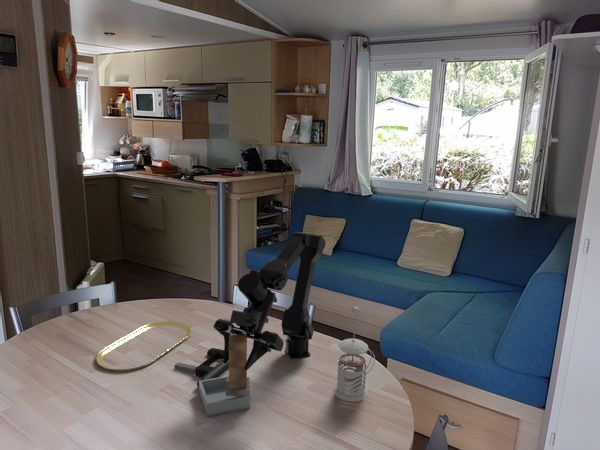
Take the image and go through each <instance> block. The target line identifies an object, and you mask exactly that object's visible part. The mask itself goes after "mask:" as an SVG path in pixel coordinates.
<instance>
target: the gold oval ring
mask: <svg viewBox="0 0 600 450" xmlns="http://www.w3.org/2000/svg"><path fill="white" fill-rule="evenodd" d="M159 327H175V328H180V329H182V330H183V331H185V334H186V335H185V337H184V338H183V339H181V340H180V341H179V342H177V343H175V344H174V345H173V346H172V347H170V348H168V349H166V351H164V352H162V353H161V354H159V356H158V355H157V357H155V358H154V359H152V360H151V361H149V362H147V363H145V364H142V365H139V366H135V367H130V368H111V367H107V366H105V364H104V363H103V359H104V358H105V356H106V355H107V354H109V353H111V352H112V351H114V350H115V349H117V348H119V347H120V346H122V345H123V344H126V343H127V342H129V341H130V340H132V339H134V338H135V337H138V336H139V335H141V334H143V333H144V332H146V331H148V330H151V329H155V328H159ZM191 333H192V331H191V327H190V326H189V325H187V324H185V323H183V322H180V321H171V320H167V321H165V320H164V321H156V322H152V323H147V324H145V325H143V326H141V327H139V328H137V329H136V330H134V331H131V332H130V333H129V334H126V335H125V336H124V337H121V338H119V339H118V340H115V342H113V343H111V344H109V345H108V346H106V347H104V348H103V349H102V350H100V351H99V352H98V353H97V355H96V359H95V361H96V363H97V364H98V365H99V367H101V368H102V369H105V370H108V371H113V372H131V371H136V370H139V369H143V368H145V367H147V366H149V365H151V364H152V363H154V362H156V361H157V360H159V358H161V357H163V356H164V355H166V354H167V353H168V352H170V351H172V349H174V348H176V347H177V346H178V345H180V344H181V343H182V342H184V341H186V340H187V339H188V338H189V336H190V335H191Z"/></svg>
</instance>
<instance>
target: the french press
mask: <svg viewBox="0 0 600 450" xmlns="http://www.w3.org/2000/svg"><path fill="white" fill-rule="evenodd" d="M351 311H352V312H353V313H354V321H357V319H356V318H357V317H356V314H357V313H359V312H360V309H359V307H357V306H354V307H352V309H351ZM355 332H356V323H354V326H353V338H345V339H343V340H341V341H340V342H338V347H339V349H340V351H342V352H344V354H341V355H340V356H339V361H338V366H337V380H336V381H337V382H336V384H335V386H333V389H332V392H333V395H334V396H336V397H337V398H338V399H341V400H343V401H345V402H353V403H354V402H361V401H363V400H365V399H367V397H368V396H369V391H368V389H367V388H366V376H367V374H369V373H370V372H371V371H372V370H373V367H374V366H375V363H376V361H375V360H376V356H375V354H374V352H373V351H372V350H371V349H370V348H369V345H368V344H367V343H366V342H364V341H363V340H361V339H359V338H355V337H356V336H355V335H356V334H355ZM368 351H369V353H370V360H369V362H368V365H367V364H366V358H365V357H364V356H362V354H365V355H367V354H368ZM372 355H373V356H372ZM372 359H373V363H372ZM371 363H372V366H371V368H370V369H369V370H368V371H367V369H368V368H369V367H370V364H371ZM344 367H345V368H344ZM349 370H351V371H349Z"/></svg>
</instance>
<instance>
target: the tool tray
mask: <svg viewBox="0 0 600 450" xmlns="http://www.w3.org/2000/svg"><path fill="white" fill-rule="evenodd" d="M227 378H229V375H225V376H222V377H219V378H213V379H207V380H201V381H199V380H198V381H199V388H198V394H199V397H200V401H201V404H202V406H203V407H202V408H203V409H204V413H205V416H206V417H207V418H208V417H213V416H214V417H215V416H219V415H224V414H229V413H234V412H239V411H243V410H249V409H251V395H250V396H226V380H227Z"/></svg>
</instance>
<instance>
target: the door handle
mask: <svg viewBox="0 0 600 450" xmlns="http://www.w3.org/2000/svg"><path fill="white" fill-rule="evenodd" d="M206 353H207V354H206V355H207V356H208V357H209V358H207V359H206V360H205V361H203V362H201V363H200V364H199V365H198V366H196V365H193V364H188V363H182V362H177V363H175V364H174V369H175V370H178V371H182V372H185V373H189V374H193V375H195V377H197V378H200V379H199V380H198V381H197V383H196V386H197V387H198V389H199V381H201V380H207V379H213V378H219V377H224V375H226V374H227V373H229V360H228V361H227V363H226V364H225V363H223V357H224V349H221V348H220V349H219V348H214V347H211V348H209V349H208V350H207V351H206ZM215 362H216V363H218V364H217V365H215V366H211V365H213V364H214V363H215Z"/></svg>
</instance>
